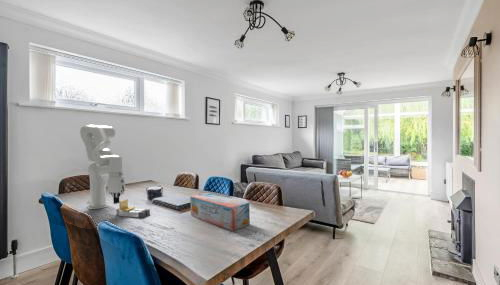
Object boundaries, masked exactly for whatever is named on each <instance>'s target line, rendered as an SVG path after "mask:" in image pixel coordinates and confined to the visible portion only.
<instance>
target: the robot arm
mask: <svg viewBox="0 0 500 285" xmlns="http://www.w3.org/2000/svg"><path fill="white" fill-rule="evenodd" d="M79 134H80V138H81V140H82V142H83V143H84V144H83V145H85V146H84V147H85V149H86V150H85V151H86V156H87V159H88V161H89V162H90V163H91V164H89V165H88V167H87V172H88V177H89V192H90V194H89V197H90V200H88V201H87V202H86V204H88V206H87V209H90V210H98V209H105V208H107V207H108V206H109V203H107V193H108V194H109V195H111V196H112V198H113V204H114V205H117V204H119V201H120V197H121V196H122V195H124V194H125V191H126V183H125V182H126V181H125V177H124V173H123V158H122V156H121V155H117V154H113V152H112V150H111V149H110V148H109V147H110V146H111V140H110V139H113V138H114V137H115V135H116V129H114V127H113V126H110V125H109V126H108V125H104V124H103V125H99V124H98V125H97V124H96V125H95V124H86V125H82V126H81V128H80V131H79ZM104 176H108V178H107V186H106V180H105V179H104ZM106 187H107V188H106ZM106 189H107V191H106ZM106 192H107V193H106Z"/></svg>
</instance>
